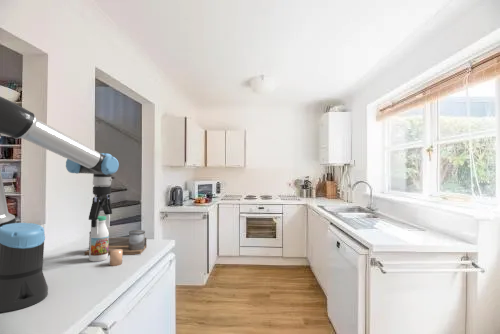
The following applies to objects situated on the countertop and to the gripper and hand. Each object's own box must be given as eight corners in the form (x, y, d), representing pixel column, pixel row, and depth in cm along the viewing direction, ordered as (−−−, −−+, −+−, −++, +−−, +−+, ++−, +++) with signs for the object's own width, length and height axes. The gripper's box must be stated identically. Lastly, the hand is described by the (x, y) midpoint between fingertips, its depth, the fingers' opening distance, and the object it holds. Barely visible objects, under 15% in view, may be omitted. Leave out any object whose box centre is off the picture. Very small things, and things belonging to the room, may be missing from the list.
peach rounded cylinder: (119, 265, 116) (120, 252, 116) (107, 266, 115) (108, 252, 115) (123, 262, 121) (124, 248, 121) (111, 262, 120) (112, 249, 120)
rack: (141, 254, 132) (141, 234, 133) (83, 255, 128) (84, 234, 129) (147, 247, 145) (148, 228, 145) (95, 247, 141) (96, 228, 141)
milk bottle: (84, 260, 121) (87, 217, 121) (99, 256, 128) (101, 214, 129) (98, 262, 118) (100, 218, 119) (111, 257, 126) (113, 216, 126)
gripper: (99, 187, 113) (97, 237, 112) (119, 184, 137) (118, 225, 137) (80, 187, 112) (78, 237, 111) (104, 184, 136) (102, 225, 136)
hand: (100, 230), depth 124 cm, fingers open, 13 cm apart
